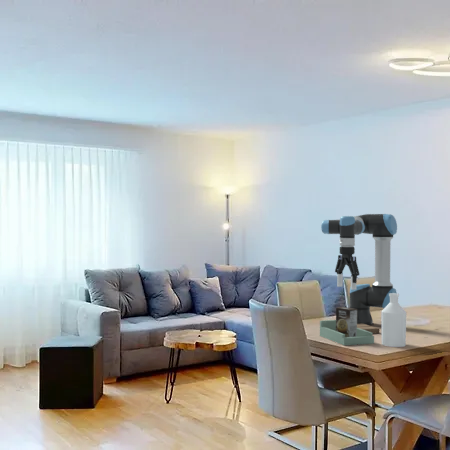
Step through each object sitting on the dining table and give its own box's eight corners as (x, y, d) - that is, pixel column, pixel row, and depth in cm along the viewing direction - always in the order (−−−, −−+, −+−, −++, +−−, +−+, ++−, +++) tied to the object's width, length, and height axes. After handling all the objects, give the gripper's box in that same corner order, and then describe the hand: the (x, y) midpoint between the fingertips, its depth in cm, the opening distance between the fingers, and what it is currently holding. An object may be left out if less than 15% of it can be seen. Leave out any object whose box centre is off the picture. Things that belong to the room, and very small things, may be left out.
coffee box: (335, 338, 304) (335, 307, 304) (343, 337, 308) (343, 306, 308) (349, 341, 297) (349, 309, 297) (357, 340, 301) (357, 308, 301)
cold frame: (319, 335, 312) (319, 320, 312) (348, 334, 317) (348, 319, 317) (343, 345, 288) (343, 328, 288) (374, 343, 293) (374, 327, 293)
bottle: (395, 348, 283) (396, 295, 283) (375, 343, 293) (376, 293, 292) (411, 345, 290) (411, 294, 290) (391, 341, 299) (391, 291, 299)
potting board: (338, 329, 330) (338, 325, 330) (363, 328, 335) (363, 323, 335) (353, 334, 315) (353, 330, 315) (379, 333, 320) (379, 328, 320)
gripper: (328, 245, 313) (328, 285, 313) (353, 247, 289) (352, 290, 289) (341, 245, 315) (340, 285, 315) (366, 247, 291) (366, 290, 292)
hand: (346, 288), depth 302 cm, fingers open, 13 cm apart
